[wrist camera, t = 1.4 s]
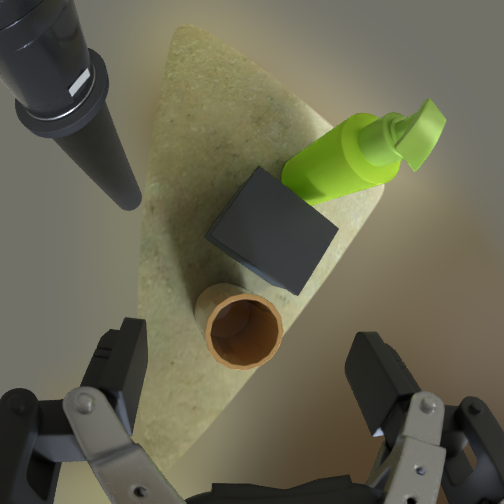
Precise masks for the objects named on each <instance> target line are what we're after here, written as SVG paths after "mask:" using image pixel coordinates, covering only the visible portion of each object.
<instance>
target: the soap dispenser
mask: <svg viewBox="0 0 504 504" xmlns="http://www.w3.org/2000/svg"><path fill="white" fill-rule="evenodd" d="M446 121H447V120H446V118H445V117H444V116H443V114H442V113H441V112H440V111H439V109H438V108H437V107H436V105H435V104H434V103H433V102H432V101H431V99H430V98H429V99H427V100H425V101H424V102H423V104H422V105H421V107H420V109H419V110H418V112H417V113H415V114H413V115H411V116H409V117H407V118H406V117H404V116H403V115H401V114H399V113H394V112H393V113H389V114H387V115H385V116H383V117H381V118H378V117H376V116H374V115H372V114H367V113H358V114H355V115H353V116H351V117H350V118H348V119H347V120H345V121H344V122H342V123H341V124H339V125H338V126H336V127H335V128H333V129H332V130H331V131H329V132H328V133H326V134H325V135H323V136H322V137H321V138H319V139H318V140H316V141H315V142H314V143H312V144H311V145H309V146H308V147H306V148H305V149H304V150H302V151H301V152H300V153H298V154H297V155H295V156H294V157H293V158H291V159H290V160H289V161H288V162H287V163H286V164H285V166H284V168H283V171H282V184H284V185H285V186H286V187H288V188H289V189H290V190H291V191H293V192H294V193H295V194H297V195H298V196H299V197H300V198H302V199H303V200H304V201H305V202H307V203H308V204H309V205H310V206H312V205H316V204H319V203H322V202H325V201H328V200H332V199H335V198H338V197H341V196H344V195H348V194H351V193H354V192H358V191H361V190H364V189H367V188H371V187H374V186H377V185H381V184H384V183H387V182H389V181H390V180H392V179H393V178H394V177H395V175H396V174H397V173H398V171H399V168H400V163H401V160H403V159H404V160H405V161H406V162H407V163H408V164H409V166H410V167H411V168H412V169H413V170H414V171H417V170H418V169H419V167H420V166H421V165H422V164H423V162H424V161H425V160H426V158H427V157H428V155H429V154H430V152H431V151H432V149H433V148H434V146H435V144H436V143H437V141H438V139H439V137H440V135H441V132H442V130H443V128H444V126H445V123H446Z"/></svg>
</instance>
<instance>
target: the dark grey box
mask: <svg viewBox="0 0 504 504" xmlns="http://www.w3.org/2000/svg"><path fill="white" fill-rule="evenodd" d="M338 230H339V228H337V227H336V226H335V225H334V224H333V223H331V222H330V221H329V220H328V219H327V218H325V217H324V216H323V215H322V214H320V213H319V212H318V211H317V210H315V209H314V208H313V207H312V206H310V205H309V204H308V203H307V202H305V201H304V200H303V199H302V198H300V197H299V196H298V195H297V194H295V193H294V192H293V191H291V190H290V189H289V188H288V187H286V186H285V185H284V184H282V183H281V182H280V181H278V180H277V179H276V178H275V177H273V176H272V175H271V174H269V173H268V172H267V171H265V170H264V169H263V168H261V167H260V166H258V167H257V168H256V169H255V170H254V172H253V173H252V175H251V176H250V177H249V179H248V180H246V181H245V182H244V183H243V184H242V185H241V186H240V187H239V189H238V190H237V192H236V193H235V194H234V196H233V197H232V199H231V200H230V201H229V203H228V204H227V206H226V207H225V208H224V210H223V211H222V213H221V214H220V216H219V217H218V218H217V220H216V221H215V223H214V224H213V226H212V227H211V229H210V230H209V231H208V233H207V234H206V236H205V237H204V238H205V239H206V240H208V241H209V242H211V243H212V244H213V245H215V246H216V247H218V248H219V249H221V250H222V251H223V252H225V253H226V254H228V255H229V256H231V257H232V258H234V259H235V260H236V261H238V262H239V263H241V264H242V265H244V266H245V267H247V268H248V269H249V270H251V271H252V272H254V273H255V274H257V275H258V276H260V277H261V278H262V279H264V280H265V281H267V282H268V283H270V284H271V285H273V286H277V287H280V288H283V289H287V290H288V291H289V292H291V293H292V294H294V295H297V296H298V295H299V294H300V292H301V291H302V289H303V288H304V286H305V284H306V283H307V281H308V280H309V278H310V276H311V275H312V273H313V271H314V270H315V268H316V266H317V265H318V263H319V262H320V260H321V258H322V257H323V255H324V253H325V252H326V250H327V248H328V247H329V245H330V243H331V241H332V240H333V238H334V236H335V235H336V233H337V231H338Z"/></svg>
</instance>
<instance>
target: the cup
mask: <svg viewBox="0 0 504 504" xmlns="http://www.w3.org/2000/svg"><path fill="white" fill-rule="evenodd" d="M195 318H196V322H197V325H198V327H199V330H200V332H201V334H202V336H203V339H204V341H205V343H206V346H207V348H208V350H209V351H210V353H211V354H212V355H213V357H214V358H215V359H216V361H217V362H219V363H221V364H223V365H224V366H226V367H228V368H230V369H237V370H248V369H252V368H256V367H259V366H261V365H262V364H264V363H265V362H266V361H268V360H269V359H271V357H273V355H274V354H275V352H276V351H277V349H278V348H279V346H280V343H281V339H282V335H283V326H282V320H281V316H280V314H279V313H278V311H277V310H276V308H275V306H274V305H273V304H272V303H271V302H269V301H268V300H266V299H265V298H263V297H262V296H260V295H257V294H255V293H253V292H251V291H249V290H246V289H244V288H242V287H240V286H238V285H235V284H231V283H217V284H214V285H211V286H210V287H208V288H207V289H205V290H204V291H203V292H202V293H201V295H200V296H199V298H198V299H197V302H196V305H195Z"/></svg>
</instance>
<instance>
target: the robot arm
mask: <svg viewBox="0 0 504 504" xmlns="http://www.w3.org/2000/svg"><path fill="white" fill-rule="evenodd" d="M0 80H1V81H2V82H3V84H4V85H5V86H6V87H7V88H8V89H9V91H10V92H11V93H12V94H13V95H14V96H15V98H16V99H17V100H18V101H19V102H20V103H21V105H22V106H23V107H24V108H25V110H26V111H27V113H28V114H29V115H30V116H31V117H33V118H34V119H36V120H39V121H43V122H52V121H57V120H60V119H63V118H65V117H67V116H69V115H71V114H72V113H74V112H75V111H76V110H78V109H79V108H80V107H81V106H82V105H83V104H84V103H85V102H86V101H87V99H88V98H89V96H90V95H91V93H92V91H93V89H94V86H95V82H96V70H95V67H94V64H93V62H92V60H91V57H90V54H89V51H88V47H87V44H86V41H85V38H84V35H83V31H82V28H81V24H80V21H79V18H78V14H77V11H76V7H75V3H74V0H0ZM147 363H148V346H147V330H146V321H145V320H144V319H136V318H128V317H125V319H124V321H123V323H122V326H121V328H120V330H114V329H110V330H109V331H108V332H107V333H105V334H104V335H103V336H102V337H101V339H100V341H99V343H98V345H97V349H96V350H95V352H94V354H93V357H92V359H91V361H90V364H89V366H88V368H87V370H86V373H85V375H84V377H83V380H82V382H81V385H80V387H78V388H75V389H73V390H71V391H70V392H68V393H67V394H66V396H65V397H64V399H61V400H45V401H38V400H37V398H36V396H35V395H34V394H33V393H32V392H31V391H29V390H27V389H23V388H16V389H12V390H10V391H8V392H6V393H5V394H4V395H3V396H2V397H1V399H0V504H53V502H54V497H55V492H56V486H57V481H58V477H59V472H60V467H61V463H62V462H68V461H69V462H72V461H87V462H88V463H89V465H90V467H91V469H92V471H93V473H94V474H95V476H96V478H97V480H98V481H99V483H100V485H101V487H102V488H103V490H104V491H105V493H106V495H107V496H108V498H109V500H110V501H111V503H112V504H436V500H437V496H438V491H439V487H440V483H441V485H442V487H443V490H444V492H445V495H446V497H447V500H448V502H449V504H504V432H503V430H502V428H501V427H500V425H499V424H498V422H497V420H496V419H495V417H494V416H493V414H492V413H491V411H490V410H489V408H488V407H487V405H486V404H485V403H484V402H483V401H482V400H480V399H478V398H476V397H472V396H469V397H465V398H464V399H463V400H462V402H461V403H460V405H459V406H449V405H444V404H443V402H442V401H441V400H440V398H439V397H437V396H436V395H434V394H432V393H429V392H425V391H422V390H421V389H420V387H419V386H418V384H417V382H416V381H415V379H414V378H413V376H412V375H411V373H410V372H409V370H408V369H407V368H406V365H405V364H404V362H402V359H401V358H400V356H399V355H398V353H397V352H396V351H395V350H394V349H393V348H392V347H391V346H389V345H388V344H385V343H384V342H383V340H382V339H381V337H380V336H379V334H378V333H377V332H358V333H357V334H356V336H355V338H354V341H353V343H352V347H351V349H350V352H349V354H348V357H347V359H346V363H345V374H346V377H347V380H348V382H349V384H350V386H351V389H352V390H353V393H354V395H355V398H356V400H357V402H358V405H359V407H360V409H361V411H362V414H363V416H364V418H365V421H366V423H367V425H368V428H369V430H370V432H371V435H372V437H374V436H379V435H384V437H385V440H384V441H383V442H382V445H381V447H380V450H379V452H378V456H377V458H376V460H375V463H374V465H373V468H372V470H371V472H370V475H369V477H368V479H367V481H366V483H365V484H364V485H363V484H358V483H352V481H351V479H350V475H343V476H336V477H329V478H322V479H317V480H314V481H311V482H308V483H305V484H302V485H299V486H296V487H293V488H290V489H276V488H271V487H264V486H259V485H253V484H227V483H212V489H211V492H205V493H201V494H198V495H195V496H192V497H190V498H187V499H185V500H183V499H182V497H181V496H180V495H179V494H178V493H177V492H176V490H175V489H174V488H173V487H172V485H171V484H170V483H169V482H168V480H167V479H166V478H165V477H164V475H163V474H162V473H161V471H160V470H159V469H158V467H157V466H156V465H155V464H154V462H153V461H152V459H151V458H150V457H149V455H148V454H147V453H146V451H145V450H144V449H143V447H142V446H141V445H139V444H138V443H137V444H135V443H134V442H133V440H132V439H131V437H130V436H132V433H133V428H134V423H135V418H136V414H137V409H138V404H139V400H140V395H141V391H142V386H143V382H144V377H145V373H146V369H147ZM468 442H469V444H470V446H471V448H472V450H473V452H474V454H475V456H476V458H477V466H476V468H475V470H474V471H473V469H472V467H471V465H470V463H469V461H468V459H467V457H466V455H465V453H464V451H463V448H464V447H465V446H466V445H467V443H468Z"/></svg>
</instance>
